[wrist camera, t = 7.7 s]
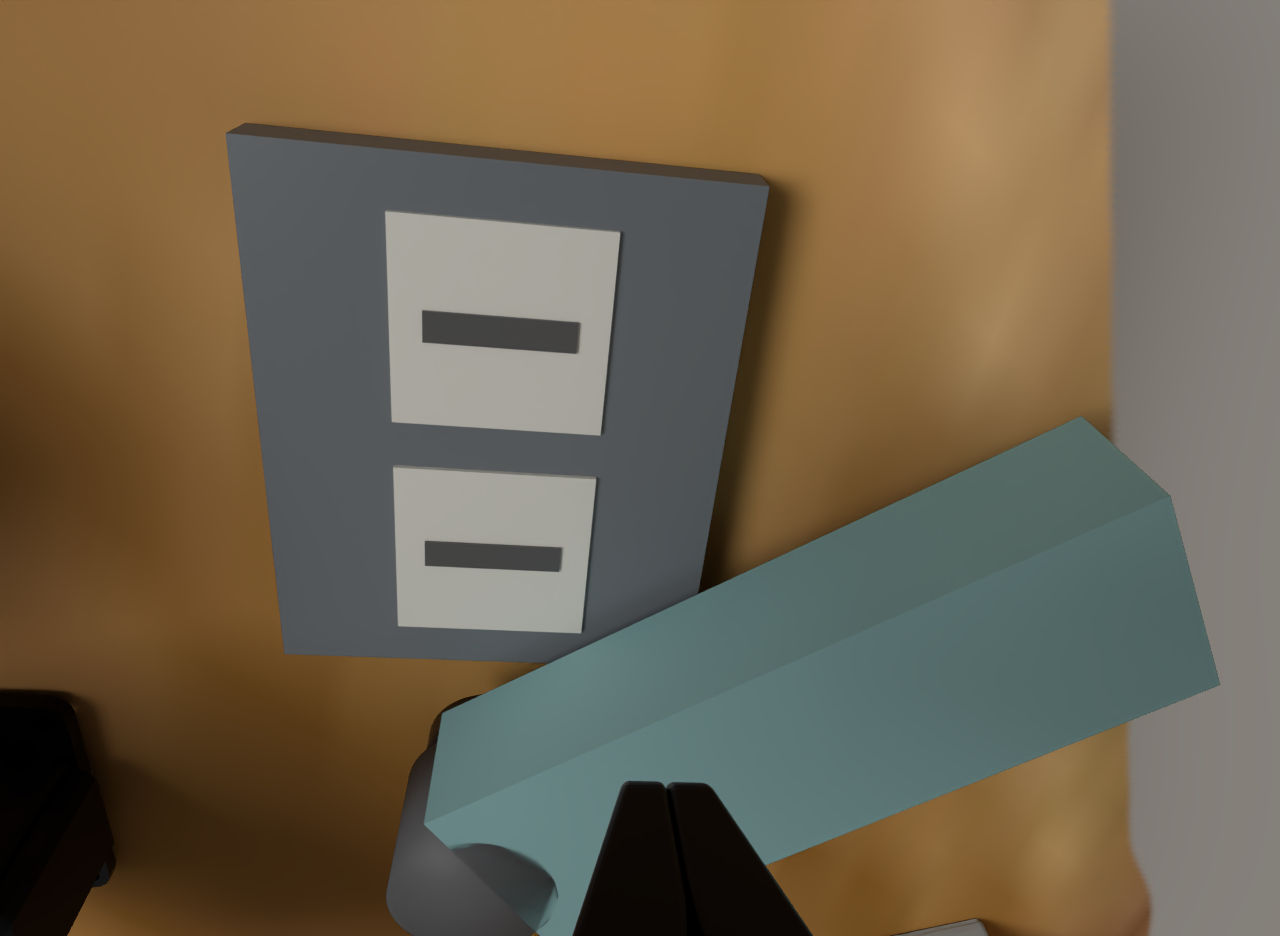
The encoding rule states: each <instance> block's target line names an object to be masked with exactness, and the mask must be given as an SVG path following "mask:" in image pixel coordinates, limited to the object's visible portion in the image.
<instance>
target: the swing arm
mask: <svg viewBox="0 0 1280 936" xmlns="http://www.w3.org/2000/svg"><path fill="white" fill-rule="evenodd" d="M1218 685H1220V682H1219V678H1218V674H1217V671H1216V667H1215V663H1214V659H1213V655H1212V652H1211V648H1210V644H1209V640H1208V636H1207V633H1206V629H1205V625H1204V621H1203V617H1202V614H1201V610H1200V606H1199V602H1198V599H1197V595H1196V591H1195V587H1194V583H1193V580H1192V576H1191V572H1190V568H1189V565H1188V561H1187V557H1186V553H1185V549H1184V546H1183V542H1182V538H1181V535H1180V531H1179V527H1178V523H1177V519H1176V515H1175V512H1174V508H1173V504H1172V500H1171V496H1170V495H1169V494H1168V493H1167V492H1166V491H1164V490H1163V489H1162V488H1161V487H1160V486H1159V485H1158V484H1157V483H1156V482H1154V481H1153V480H1152V479H1151V478H1150V477H1149V476H1148V475H1147V474H1145V473H1144V472H1143V471H1142V470H1141V469H1140V468H1139V467H1138V466H1137V465H1136V464H1134V463H1133V462H1132V461H1131V460H1130V459H1129V458H1128V457H1127V456H1125V455H1124V454H1123V453H1122V452H1121V451H1120V450H1119V449H1118V448H1117V447H1115V446H1114V445H1113V444H1112V443H1111V442H1110V441H1109V440H1108V439H1107V438H1105V437H1104V436H1103V435H1102V434H1101V433H1100V432H1099V431H1098V430H1097V429H1095V428H1094V427H1093V426H1092V425H1091V424H1090V423H1089V422H1088V421H1086V420H1085V419H1084V418H1083V417H1082V416H1080V417H1078V418H1076V419H1074V420H1072V421H1069V422H1067V423H1065V424H1063V425H1061V426H1059V427H1057V428H1054V429H1052V430H1050V431H1048V432H1046V433H1044V434H1041V435H1039V436H1037V437H1035V438H1033V439H1031V440H1029V441H1026V442H1024V443H1022V444H1020V445H1018V446H1016V447H1014V448H1011V449H1009V450H1007V451H1005V452H1003V453H1001V454H998V455H996V456H994V457H992V458H990V459H988V460H986V461H983V462H981V463H979V464H977V465H975V466H973V467H971V468H968V469H966V470H964V471H962V472H960V473H958V474H955V475H953V476H951V477H949V478H947V479H945V480H943V481H940V482H938V483H936V484H934V485H932V486H930V487H928V488H925V489H923V490H921V491H919V492H917V493H915V494H912V495H910V496H908V497H906V498H904V499H902V500H900V501H897V502H895V503H893V504H891V505H889V506H887V507H885V508H882V509H880V510H878V511H876V512H874V513H872V514H870V515H867V516H865V517H863V518H861V519H859V520H857V521H854V522H852V523H850V524H848V525H846V526H844V527H842V528H839V529H837V530H835V531H833V532H831V533H829V534H827V535H824V536H822V537H820V538H818V539H816V540H814V541H811V542H809V543H807V544H805V545H803V546H801V547H799V548H796V549H794V550H792V551H790V552H788V553H786V554H784V555H781V556H779V557H777V558H775V559H773V560H771V561H768V562H766V563H764V564H762V565H760V566H758V567H756V568H753V569H751V570H749V571H747V572H745V573H743V574H741V575H738V576H736V577H734V578H732V579H730V580H728V581H725V582H723V583H721V584H719V585H717V586H715V587H713V588H710V589H708V590H706V591H704V592H702V593H700V594H698V595H695V596H693V597H691V598H689V599H687V600H685V601H682V602H680V603H678V604H676V605H674V606H672V607H670V608H667V609H665V610H663V611H661V612H659V613H657V614H655V615H652V616H650V617H648V618H646V619H644V620H642V621H639V622H637V623H635V624H633V625H631V626H629V627H627V628H624V629H622V630H620V631H618V632H616V633H614V634H612V635H609V636H607V637H605V638H603V639H601V640H599V641H596V642H594V643H592V644H590V645H588V646H586V647H584V648H581V649H579V650H577V651H575V652H573V653H571V654H569V655H566V656H564V657H562V658H560V659H558V660H556V661H553V662H551V663H549V664H547V665H545V666H543V667H541V668H538V669H536V670H534V671H532V672H530V673H528V674H526V675H523V676H521V677H519V678H517V679H515V680H513V681H510V682H508V683H506V684H504V685H502V686H500V687H498V688H495V689H493V690H491V691H489V692H487V693H485V694H483V695H480V696H478V697H476V698H474V699H472V700H470V701H467V702H465V703H463V704H461V705H459V706H457V707H455V708H452V709H450V710H448V711H446V712H444V713H442V718H441V724H440V730H439V736H438V742H437V743H436V744H434V745H432V746H431V747H429V748H428V749H426V750H425V751H424V752H423V753H422V754H421V755H420V756H419V757H418V759H417V760H416V761H415V763H414V765H413V766H412V768H411V771H410V774H409V779H408V784H407V789H406V794H405V800H404V805H403V810H402V815H401V820H400V825H399V830H398V835H397V841H396V846H395V851H394V856H393V861H392V866H391V871H390V877H389V882H388V887H387V893H386V901H387V906H388V909H389V911H390V913H391V915H392V917H393V918H394V920H395V921H396V922H397V923H398V924H399V925H400V926H401V927H402V928H403V929H404V930H406V931H407V932H408V933H410V934H411V935H413V936H530V935H532V934H533V933H535V932H536V933H538V934H539V935H540V936H572V935H573V932H574V929H575V926H576V923H577V920H578V917H579V914H580V911H581V908H582V905H583V902H584V898H585V895H586V892H587V889H588V886H589V883H590V880H591V877H592V874H593V871H594V868H595V865H596V862H597V859H598V856H599V853H600V849H601V846H602V843H603V840H604V837H605V834H606V831H607V828H608V825H609V822H610V819H611V816H612V813H613V810H614V807H615V804H616V800H617V797H618V794H619V791H620V789H621V786H622V785H623V783H624V782H626V781H658V782H661V783H663V784H664V786H665V787H666V786H667V785H668V784H669V783H672V782H697V783H706V784H708V785H709V786H711V787H712V788H713V789H714V791H715V792H716V794H717V795H718V797H719V798H720V800H721V801H722V802H723V804H724V805H725V807H726V808H727V810H728V811H729V813H730V814H731V816H732V817H733V819H734V820H735V822H736V823H737V825H738V826H739V827H740V829H741V830H742V832H743V833H744V835H745V836H746V838H747V839H748V841H749V842H750V844H751V845H752V847H753V848H754V850H755V851H756V852H757V854H758V855H759V857H760V858H761V860H762V861H763V863H764V864H765V865H768V864H770V863H773V862H775V861H778V860H780V859H783V858H785V857H788V856H790V855H793V854H795V853H798V852H800V851H803V850H805V849H808V848H810V847H813V846H815V845H818V844H820V843H823V842H825V841H828V840H831V839H833V838H836V837H838V836H841V835H843V834H846V833H848V832H851V831H853V830H856V829H858V828H861V827H863V826H866V825H868V824H871V823H873V822H876V821H878V820H881V819H883V818H886V817H888V816H891V815H894V814H896V813H899V812H901V811H904V810H906V809H909V808H911V807H914V806H916V805H919V804H921V803H924V802H926V801H929V800H931V799H934V798H936V797H939V796H941V795H944V794H946V793H949V792H951V791H954V790H957V789H959V788H962V787H964V786H967V785H969V784H972V783H974V782H977V781H979V780H982V779H984V778H987V777H989V776H992V775H994V774H997V773H999V772H1002V771H1004V770H1007V769H1009V768H1012V767H1014V766H1017V765H1020V764H1022V763H1025V762H1027V761H1030V760H1032V759H1035V758H1037V757H1040V756H1042V755H1045V754H1047V753H1050V752H1052V751H1055V750H1057V749H1060V748H1062V747H1065V746H1067V745H1070V744H1072V743H1075V742H1077V741H1080V740H1083V739H1085V738H1088V737H1090V736H1093V735H1095V734H1098V733H1100V732H1103V731H1105V730H1108V729H1110V728H1113V727H1115V726H1118V725H1120V724H1123V723H1125V722H1128V721H1130V720H1133V719H1135V718H1138V717H1140V716H1143V715H1146V714H1148V713H1150V712H1153V711H1156V710H1158V709H1161V708H1163V707H1166V706H1168V705H1170V704H1173V703H1176V702H1178V701H1181V700H1183V699H1186V698H1188V697H1191V696H1193V695H1196V694H1198V693H1201V692H1203V691H1206V690H1209V689H1211V688H1214V687H1216V686H1218Z"/></svg>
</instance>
